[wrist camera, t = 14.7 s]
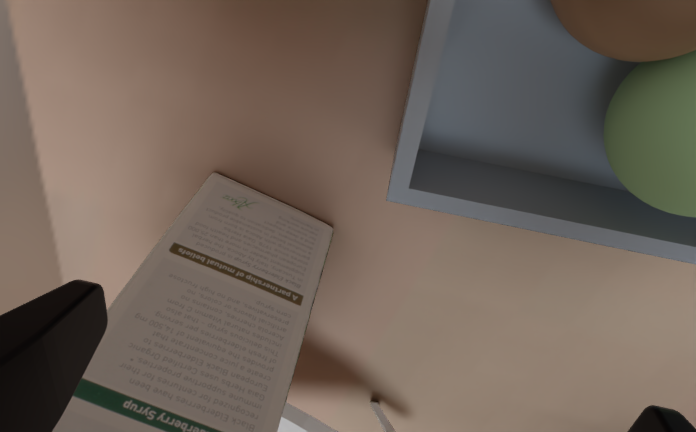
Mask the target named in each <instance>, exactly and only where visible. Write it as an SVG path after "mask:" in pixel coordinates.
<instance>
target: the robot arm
mask: <svg viewBox="0 0 696 432" xmlns="http://www.w3.org/2000/svg"><path fill="white" fill-rule="evenodd" d="M107 324H108V316H107V310H106V303H105V297H104V291H103V288H102V287H101V285H99V284H97V283H93V282H88V281H84V280H74V281H71V282H69V283H67V284H65V285H62V286H60V287H58V288H56V289H54V290H52V291H50V292H48V293H46V294H44V295H42V296H40V297H38V298H36V299H34V300H32V301H29V302H27V303H26V304H23V305H21V306H19V307H17V308H15V309H13V310H11V311H9V312H7V313H5V314H2V315H0V432H52V431H53V429H54V428H55V426H56V425H57V423H58V421H59V420H60V418H61V416H62V415H63V413H64V411H65V409H66V407H67V406H68V404H69V402H70V400H71V398H72V396H73V394H74V392H75V390H76V388H77V386H78V384H79V382H80V381H81V379H82V377H83V375H84V373H85V371H86V369H87V367H88V365H89V363H90V361H91V359H92V357H93V355H94V353H95V351H96V349H97V347H98V345H99V343H100V341H101V340H102V338H103V336H104V334H105V331H106V328H107ZM628 432H696V429H695V428H694V427H693V426H692V424H691V423H690V422H689V421H688V420H687V419H686V418H685V417H684V416H683V415H682V414H680V413H679V412H678V411H675V410H672V409H668V408H663V407H659V406H654V405H651V406H649V407H646V408H645V409H644V410H643V412H642V413H641V414H640V416H639V417H638V418H637V420H636V421H635V422H634V424H633V425H632V426H631V428H630V429H629V430H628Z"/></svg>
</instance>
